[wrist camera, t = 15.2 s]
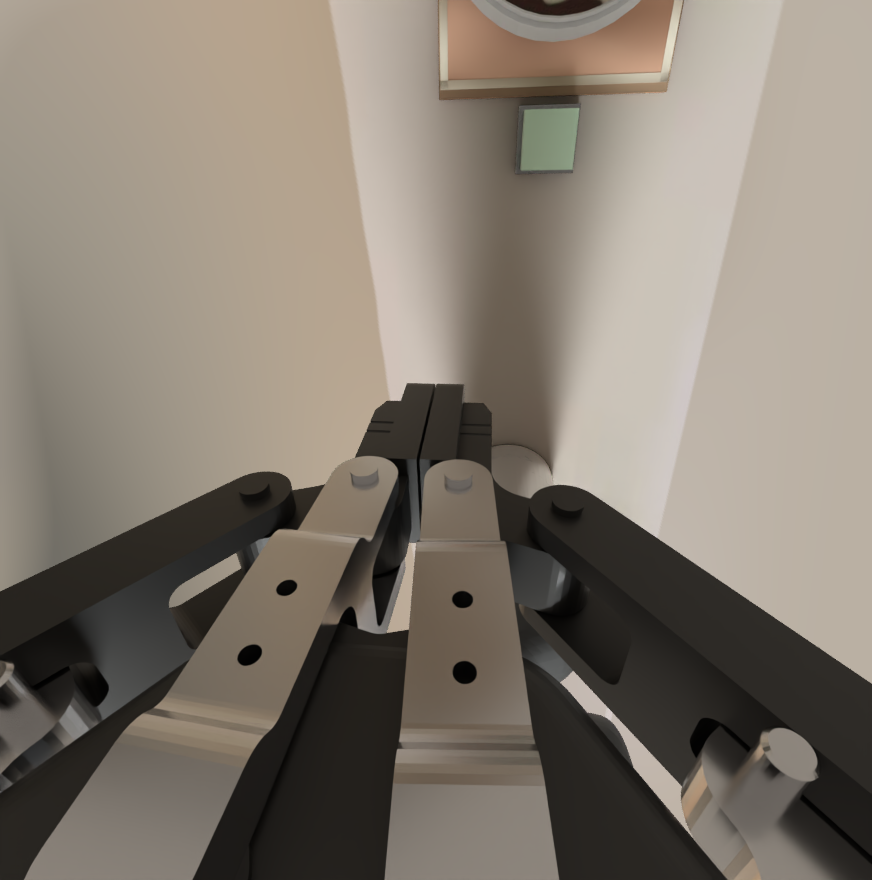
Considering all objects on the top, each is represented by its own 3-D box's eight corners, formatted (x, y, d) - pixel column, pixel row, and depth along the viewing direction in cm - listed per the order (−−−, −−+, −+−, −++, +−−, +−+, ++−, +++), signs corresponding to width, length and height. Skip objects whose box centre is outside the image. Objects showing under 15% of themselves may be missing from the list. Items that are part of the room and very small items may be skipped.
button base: (571, 172, 34) (572, 172, 34) (514, 173, 35) (515, 173, 34) (578, 104, 32) (580, 103, 31) (518, 106, 32) (519, 105, 32)
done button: (569, 168, 33) (572, 169, 32) (520, 169, 34) (521, 170, 32) (575, 109, 31) (579, 107, 30) (523, 110, 32) (525, 109, 30)
